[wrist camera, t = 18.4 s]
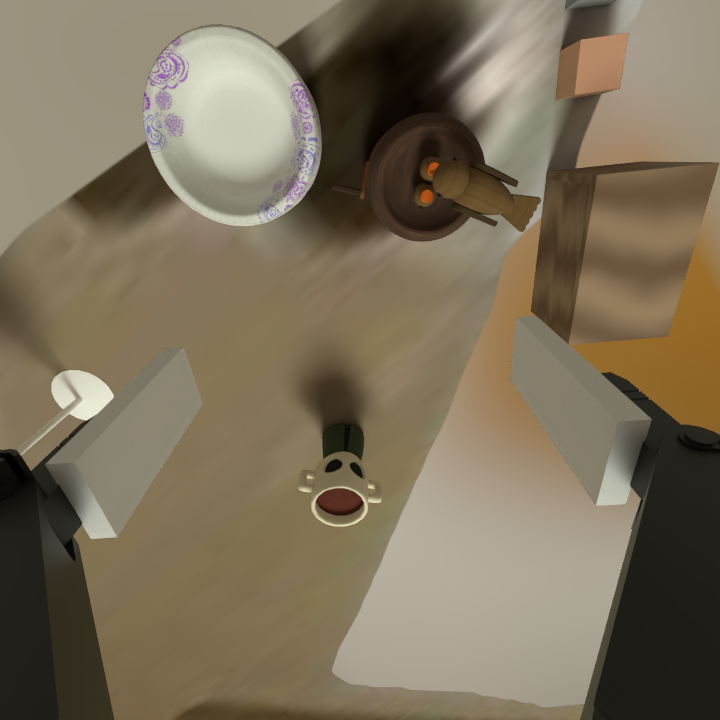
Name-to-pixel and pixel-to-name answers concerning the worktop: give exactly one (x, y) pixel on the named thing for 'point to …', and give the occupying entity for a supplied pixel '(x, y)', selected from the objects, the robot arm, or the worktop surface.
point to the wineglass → (73, 400)
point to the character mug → (340, 479)
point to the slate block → (586, 3)
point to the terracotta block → (591, 66)
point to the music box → (436, 180)
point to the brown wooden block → (617, 247)
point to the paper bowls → (231, 125)
